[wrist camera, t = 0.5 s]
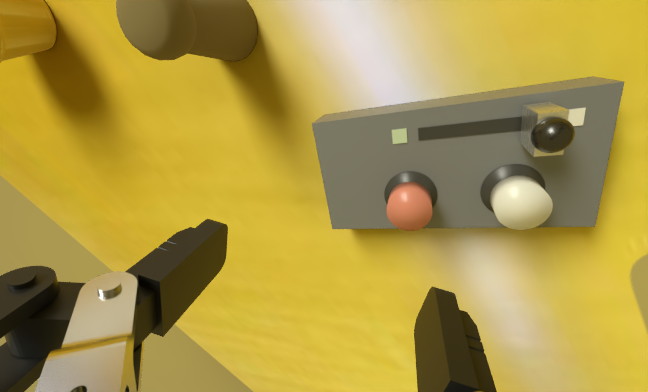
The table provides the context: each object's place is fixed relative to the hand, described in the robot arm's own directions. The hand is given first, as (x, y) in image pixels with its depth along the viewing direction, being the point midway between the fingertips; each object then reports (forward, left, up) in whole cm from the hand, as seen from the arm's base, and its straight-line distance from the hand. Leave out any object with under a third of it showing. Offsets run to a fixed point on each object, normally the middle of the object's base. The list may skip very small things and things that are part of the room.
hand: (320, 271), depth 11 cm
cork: (+13, -12, -21) cm, 28 cm away
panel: (-6, +3, -21) cm, 22 cm away
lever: (-12, -1, -17) cm, 21 cm away
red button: (-3, +5, -16) cm, 17 cm away
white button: (-11, +5, -16) cm, 20 cm away
